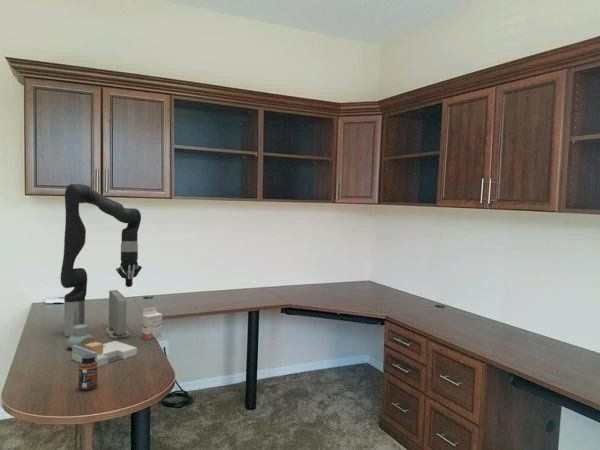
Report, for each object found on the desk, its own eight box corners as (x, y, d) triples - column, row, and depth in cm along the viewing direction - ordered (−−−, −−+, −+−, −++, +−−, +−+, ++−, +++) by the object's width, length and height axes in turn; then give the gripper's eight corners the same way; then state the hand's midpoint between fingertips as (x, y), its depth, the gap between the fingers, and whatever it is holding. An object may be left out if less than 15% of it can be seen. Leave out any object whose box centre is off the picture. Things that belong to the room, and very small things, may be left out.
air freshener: (75, 352, 187) (76, 330, 187) (63, 349, 191) (63, 327, 190) (97, 345, 197) (97, 324, 197) (84, 342, 201) (84, 321, 200)
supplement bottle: (87, 392, 148) (87, 360, 148) (74, 388, 151) (74, 357, 150) (100, 385, 154) (101, 354, 154) (88, 382, 156) (88, 352, 156)
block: (84, 354, 177) (84, 344, 177) (95, 350, 181) (96, 341, 181) (91, 356, 174) (91, 346, 174) (103, 353, 179) (103, 343, 179)
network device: (104, 327, 226) (104, 290, 226) (121, 325, 231) (122, 288, 231) (112, 340, 205) (113, 299, 204) (131, 337, 210) (132, 297, 209)
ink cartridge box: (146, 340, 206) (147, 310, 206) (141, 338, 210) (141, 308, 209) (162, 336, 213) (162, 307, 213) (156, 334, 216) (157, 306, 216)
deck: (72, 359, 179) (72, 345, 178) (115, 347, 196) (115, 334, 195) (94, 368, 170) (94, 353, 170) (137, 354, 187) (137, 341, 187)
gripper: (136, 248, 208) (135, 283, 209) (111, 250, 197) (111, 287, 198) (146, 250, 204) (145, 285, 205) (121, 252, 193) (121, 289, 194)
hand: (128, 286), depth 201 cm, fingers closed
